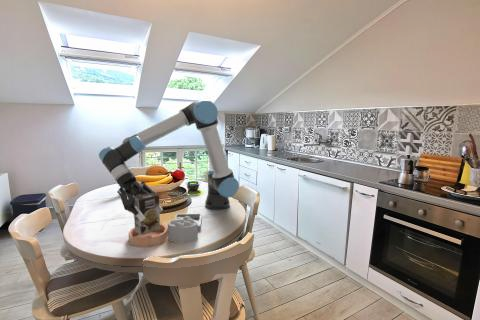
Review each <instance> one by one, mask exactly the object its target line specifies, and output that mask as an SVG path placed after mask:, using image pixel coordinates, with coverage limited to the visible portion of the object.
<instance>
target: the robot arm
mask: <svg viewBox="0 0 480 320" xmlns="http://www.w3.org/2000/svg"><path fill="white" fill-rule="evenodd" d="M218 115H219V111H218V107H217V106H216V104H215V103H214V102H212V101H211V100H208V99H200V100H196V101H193V102H192V103H190V104H188V105H187V106H185V107H183V108H182V109H179V112H178V113H176V114H174V115H172V116H170V117H168V118H165V119H164V120H162V121H160V122H157V123H156V124H154V125H151V126H150V127H147V128H145V129H143V130H142V131H139V132H138V133H135V134H133V135H131V136H129V137H126V138H125V139H124V140H122V143H121V144H120V145H119V146H117V147H115V148H114V147H112V146H106V147H105V148H102V149H101V150H100V151H99V153H98V157H99V159H100V161H101V163H102V164H103V165H104V167H105V168H106V170H107V171H108V172H109V173H110V175H111V177H112V178H113V179H114V181H116V183H117V184H118V186H119V188H118V190H117V191H116V192H117V194H118V195H119V197H120V200H121V203H122V206H123V208H124V210H125V211H128V212H132V213H133V215H135V216H137V217H138V219H139V220H140V222H142V221H143V220H144V219H145V217H144V215H143V214H142V212H141V211H140V210H139V208H138V207H137V206H135V205H134V197H135V194H138V195H144V194H149V193H154V194H157V193H156V192H155V191H154V190H153V189H152V188H150V187H149V186H148V185H147V184H146V182H145V181H143V180H142V181H141V182H139V181H137V178H136V176H135V174H134V173H133V172H132V170H131V169H130V168H129V166H128V165H127V164H126V162H127V161H128V160H130V159H132V158H133V157H135V156H137V155H138V154H140V153H141V152H143V150H145V149H146V146H148V145H149V144H150V145H151V144H152V143H154V142H155V141H158V140H159V139H161V138H164V137H165V136H168V135H170V134H172V133H173V132H176V131H177V130H179V129H181V128H183V127H186V126H187V127H189V126H192V125H194V124H195V127H196V130H198V131H199V132H200V133H201V134H200V135H201V136H202V138H203V142H204V145H205V150H206V152H207V155H208V159H209V162H210V165H211V168H212V169H208V171H207V196H206V198H205V199H206V200H205V202H204V206H205V208H207V209H210V210H225V209H228V208H229V207H230V205H231V204H230V199H229V198H232V197H233V196H235V195H236V194H237V193H238V191H239V188H240V184H239V181H238V180H237V178H235V175H234V172H233V169H232V168H229V163H228V162H227V158H226V154H225V151H224V147H223V144H222V141H221V137H220V134H219V131H218V127H217V126H218V125H219V120H218V118H217V117H218ZM125 192H127V194H126V193H125ZM134 206H135V207H134ZM163 210H164V209H163V207H162V206H161V205H160V204H159V211H160V213H161V212H162V211H163Z"/></svg>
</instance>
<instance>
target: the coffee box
mask: <svg viewBox="0 0 480 320" xmlns="http://www.w3.org/2000/svg"><path fill="white" fill-rule="evenodd" d="M134 205H135V206H137V207H138V208H139V210H140V211H141V212H142V214H143V215H144V217H145V219H144V220H143V221H142V222H140V220H139V219H138V217H137V216H135V215H134V214H133V215H134V228H135V232H137V233H138V234H140V235H144V234H147V233H150V232H153V231H156V230H159V229H160V224H161V220H160V217H161V216H160V214H161V212H160V211H159V205H160V195H159V194H157V193H156V194H154V193H149V194H144V195H141V194H138V195H134ZM135 206H134V207H135Z"/></svg>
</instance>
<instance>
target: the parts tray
mask: <svg viewBox="0 0 480 320" xmlns="http://www.w3.org/2000/svg"><path fill="white" fill-rule="evenodd" d="M185 216H189V217H190V218H191V219H194V220H195V219H199V220H198V231H201V228H202V218H203V217H202V213H200V212H199V213H175V216H174V218H176V217H185Z"/></svg>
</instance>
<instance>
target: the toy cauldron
mask: <svg viewBox="0 0 480 320" xmlns="http://www.w3.org/2000/svg"><path fill="white" fill-rule="evenodd" d="M192 179H193V177H191V180H190V179H187V182H185V185H186V188H187V190H188V194H189V195H188V196H193V197H194V196H199V195H202V194H204V190H202V189H199V188H200V185H201V182H200V181H198V180H192ZM189 180H190V181H189Z"/></svg>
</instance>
